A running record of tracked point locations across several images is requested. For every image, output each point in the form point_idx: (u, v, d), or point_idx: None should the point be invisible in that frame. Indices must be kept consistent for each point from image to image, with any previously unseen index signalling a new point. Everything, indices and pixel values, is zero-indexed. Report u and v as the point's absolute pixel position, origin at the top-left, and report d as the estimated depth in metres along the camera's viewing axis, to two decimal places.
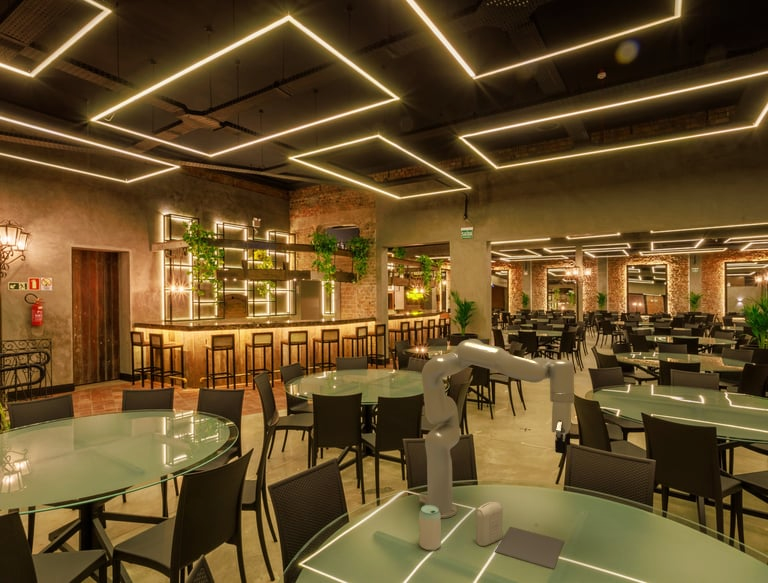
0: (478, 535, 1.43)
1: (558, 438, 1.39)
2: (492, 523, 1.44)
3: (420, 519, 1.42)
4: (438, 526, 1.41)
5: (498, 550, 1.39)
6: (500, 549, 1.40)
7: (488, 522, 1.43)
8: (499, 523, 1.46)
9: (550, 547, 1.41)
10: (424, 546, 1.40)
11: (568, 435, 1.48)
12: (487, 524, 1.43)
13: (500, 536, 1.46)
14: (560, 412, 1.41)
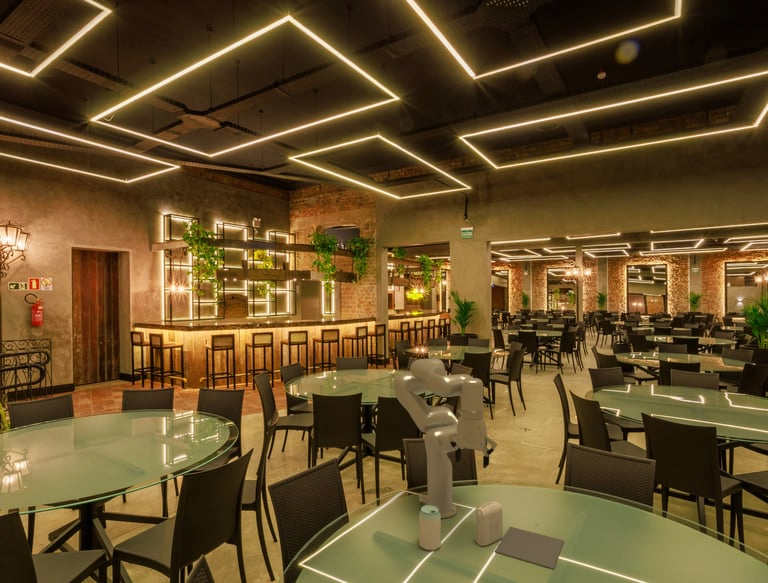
0: (478, 535, 1.43)
1: (491, 452, 1.47)
2: (492, 523, 1.44)
3: (420, 519, 1.42)
4: (438, 526, 1.41)
5: (498, 550, 1.39)
6: (500, 549, 1.40)
7: (488, 522, 1.43)
8: (499, 523, 1.46)
9: (550, 547, 1.41)
10: (424, 546, 1.40)
11: (460, 450, 1.54)
12: (487, 524, 1.43)
13: (500, 536, 1.46)
14: (485, 428, 1.48)
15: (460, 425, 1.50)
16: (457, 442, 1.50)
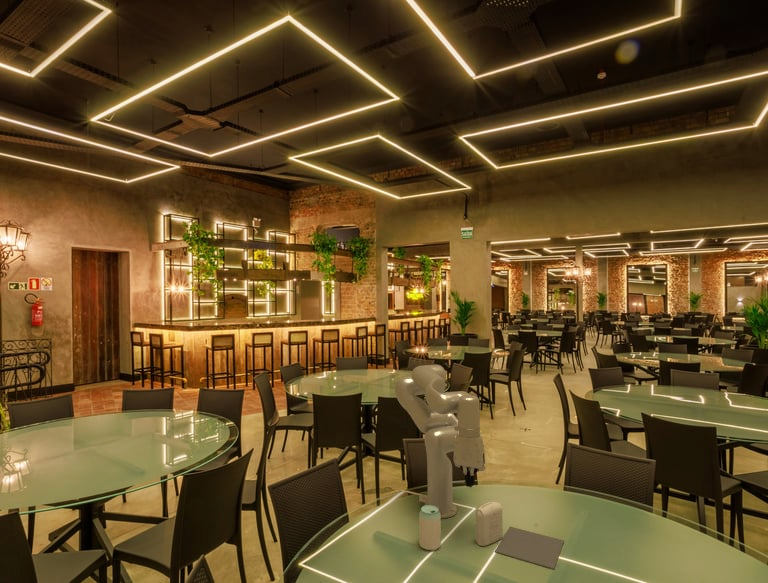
0: (478, 535, 1.43)
1: None
2: (492, 523, 1.44)
3: (420, 519, 1.42)
4: (438, 526, 1.41)
5: (498, 550, 1.39)
6: (500, 549, 1.40)
7: (488, 522, 1.43)
8: (499, 523, 1.46)
9: (550, 547, 1.41)
10: (424, 546, 1.40)
11: None
12: (487, 524, 1.43)
13: (500, 536, 1.46)
14: (482, 445, 1.48)
15: (457, 443, 1.50)
16: (455, 460, 1.50)
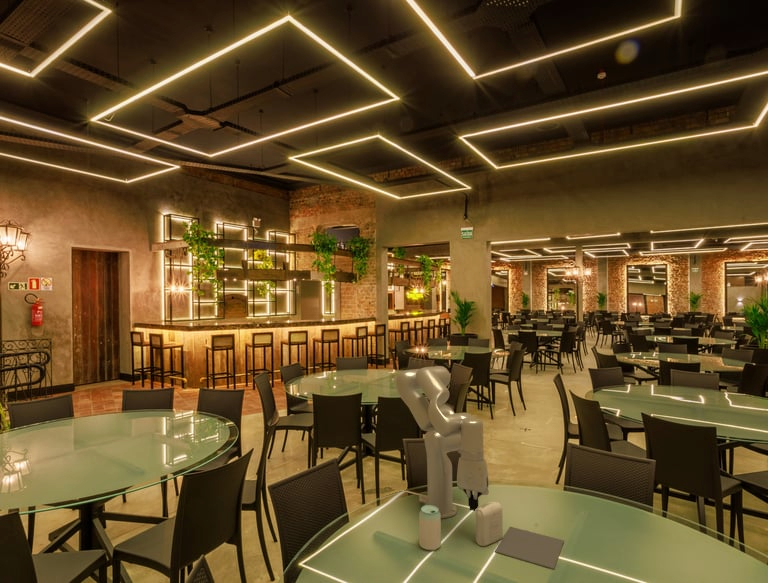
0: (478, 535, 1.43)
1: (480, 495, 1.48)
2: (492, 523, 1.44)
3: (420, 519, 1.42)
4: (438, 526, 1.41)
5: (498, 550, 1.39)
6: (500, 549, 1.40)
7: (488, 522, 1.43)
8: (499, 523, 1.46)
9: (550, 547, 1.41)
10: (424, 546, 1.40)
11: None
12: (487, 524, 1.43)
13: (500, 536, 1.46)
14: (486, 469, 1.47)
15: (461, 466, 1.49)
16: (458, 483, 1.49)
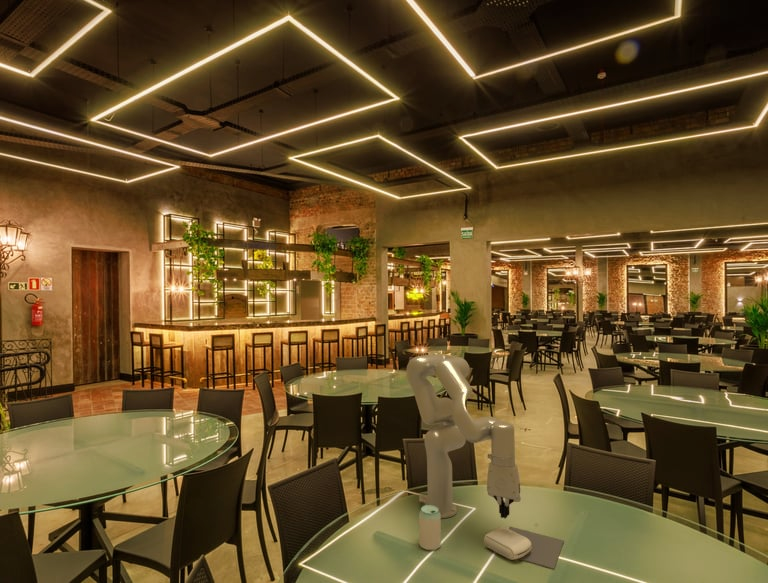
0: (491, 544, 1.39)
1: (511, 502, 1.42)
2: None
3: (420, 519, 1.42)
4: (438, 526, 1.41)
5: None
6: None
7: None
8: None
9: (550, 547, 1.41)
10: (424, 546, 1.40)
11: None
12: None
13: None
14: (518, 475, 1.42)
15: (491, 472, 1.44)
16: (488, 490, 1.44)
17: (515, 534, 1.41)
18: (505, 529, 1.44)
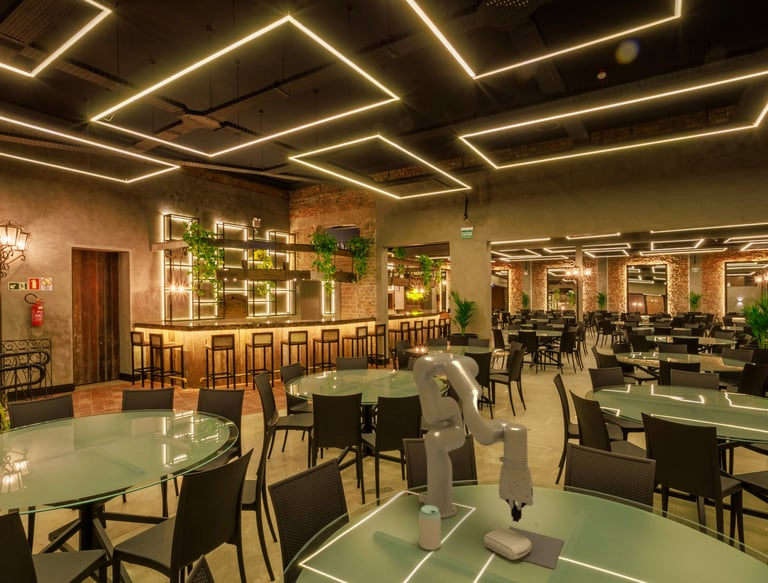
0: (491, 544, 1.39)
1: None
2: None
3: (420, 519, 1.42)
4: (438, 526, 1.41)
5: None
6: None
7: None
8: None
9: (550, 547, 1.41)
10: (424, 546, 1.40)
11: (516, 508, 1.43)
12: None
13: None
14: (531, 478, 1.40)
15: (503, 475, 1.41)
16: (500, 493, 1.42)
17: (515, 534, 1.41)
18: (505, 529, 1.44)
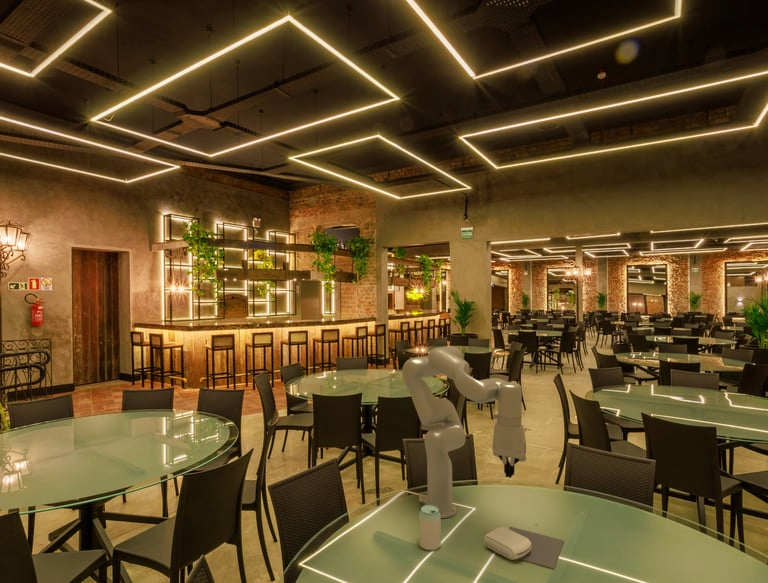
0: (491, 544, 1.39)
1: None
2: None
3: (420, 519, 1.42)
4: (438, 526, 1.41)
5: None
6: None
7: None
8: None
9: (550, 547, 1.41)
10: (424, 546, 1.40)
11: None
12: None
13: None
14: (524, 435, 1.41)
15: (497, 431, 1.43)
16: (494, 449, 1.43)
17: (515, 534, 1.41)
18: (505, 529, 1.44)
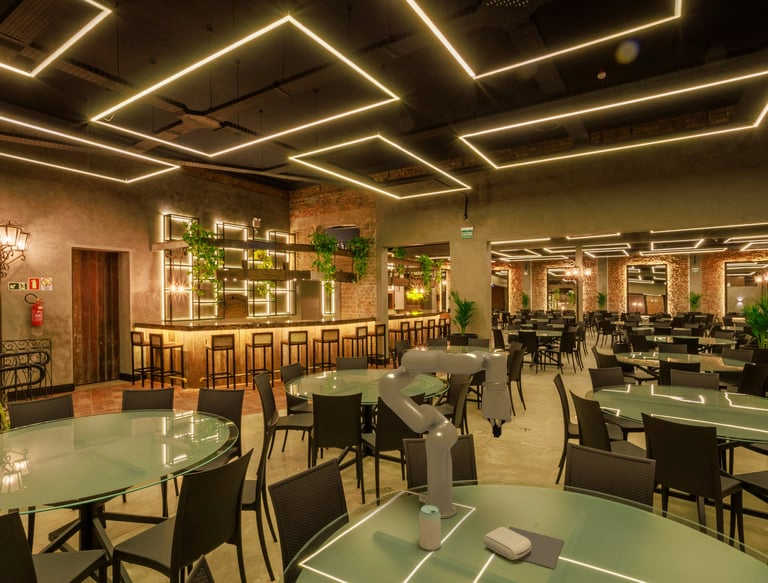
0: (491, 544, 1.39)
1: (503, 423, 1.57)
2: None
3: (420, 519, 1.42)
4: (438, 526, 1.41)
5: None
6: None
7: None
8: None
9: (550, 547, 1.41)
10: (424, 546, 1.40)
11: None
12: None
13: None
14: (509, 398, 1.57)
15: (485, 396, 1.58)
16: (482, 413, 1.59)
17: (515, 534, 1.41)
18: (505, 529, 1.44)
